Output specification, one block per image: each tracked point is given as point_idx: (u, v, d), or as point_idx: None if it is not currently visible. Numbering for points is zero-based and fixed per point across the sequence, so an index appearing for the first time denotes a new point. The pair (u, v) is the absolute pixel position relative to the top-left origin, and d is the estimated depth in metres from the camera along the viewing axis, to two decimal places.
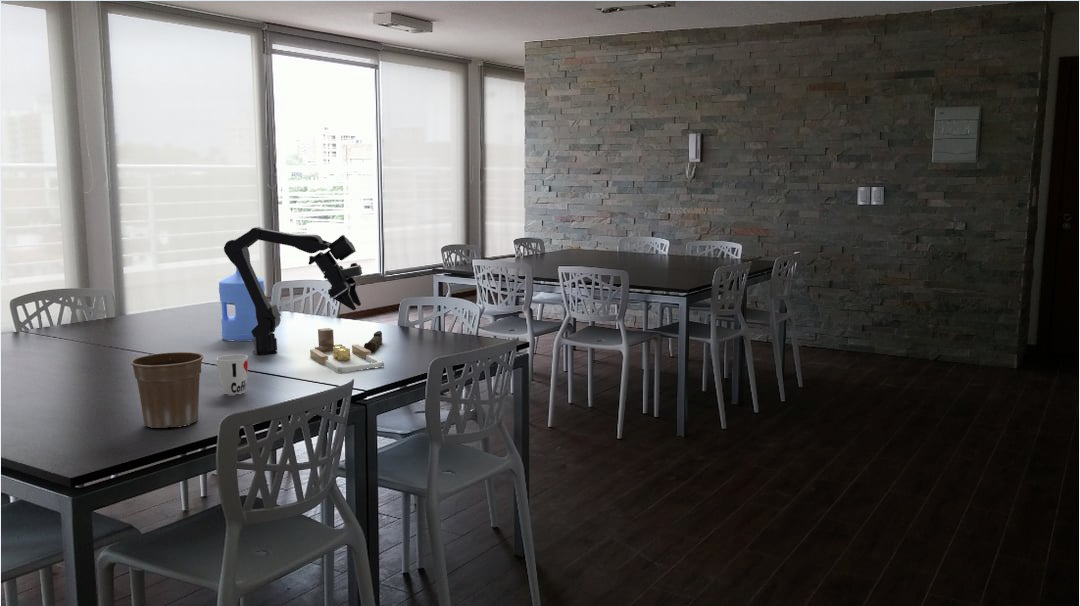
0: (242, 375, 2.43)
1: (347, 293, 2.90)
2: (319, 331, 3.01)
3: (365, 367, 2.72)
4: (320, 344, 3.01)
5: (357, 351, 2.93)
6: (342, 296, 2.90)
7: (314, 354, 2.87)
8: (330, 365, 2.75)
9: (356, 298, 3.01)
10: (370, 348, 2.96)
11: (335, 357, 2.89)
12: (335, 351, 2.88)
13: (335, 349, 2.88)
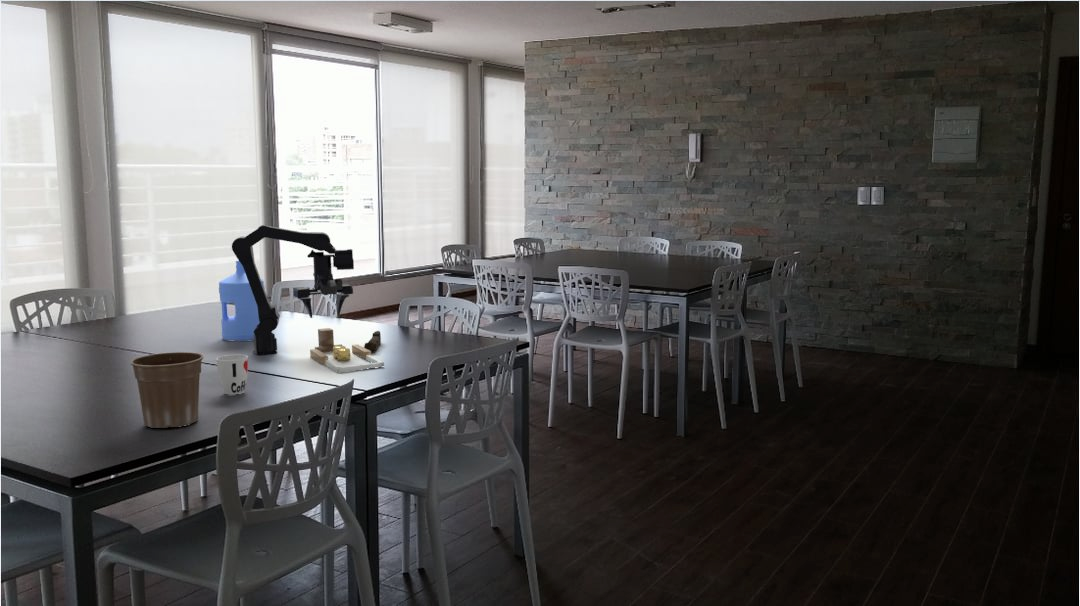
0: (242, 375, 2.43)
1: None
2: (319, 331, 3.01)
3: (365, 367, 2.72)
4: (320, 344, 3.01)
5: (357, 351, 2.93)
6: None
7: (314, 354, 2.87)
8: (330, 365, 2.75)
9: (338, 308, 3.02)
10: (370, 348, 2.96)
11: (335, 357, 2.89)
12: (335, 351, 2.88)
13: (335, 349, 2.88)
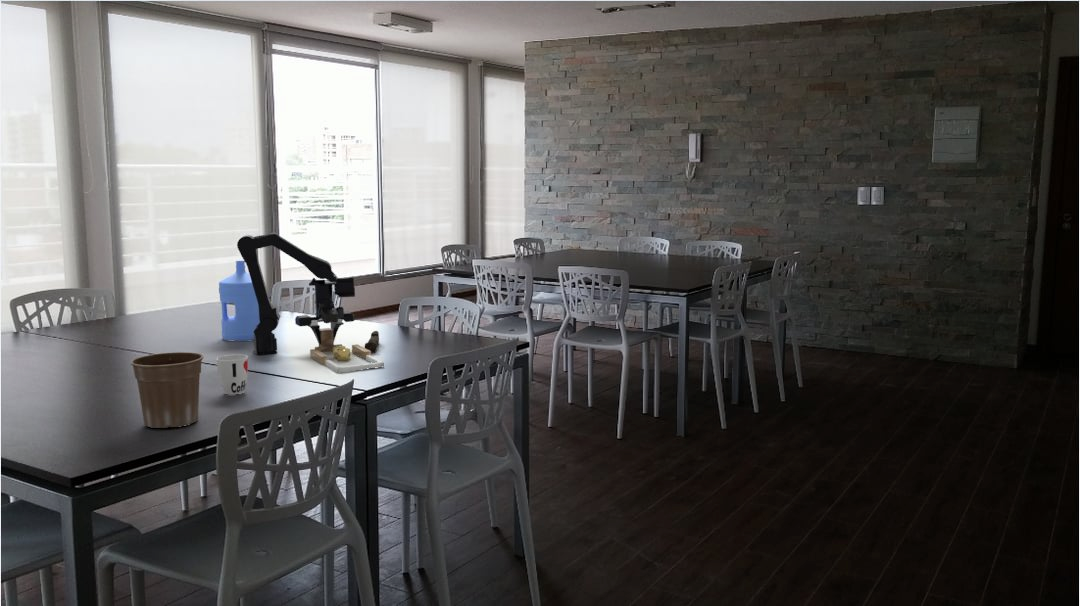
0: (242, 375, 2.43)
1: (314, 328, 2.98)
2: None
3: (365, 367, 2.72)
4: None
5: (357, 351, 2.93)
6: None
7: (314, 354, 2.87)
8: (330, 365, 2.75)
9: None
10: (371, 348, 2.96)
11: (335, 357, 2.89)
12: (335, 351, 2.88)
13: (335, 349, 2.88)
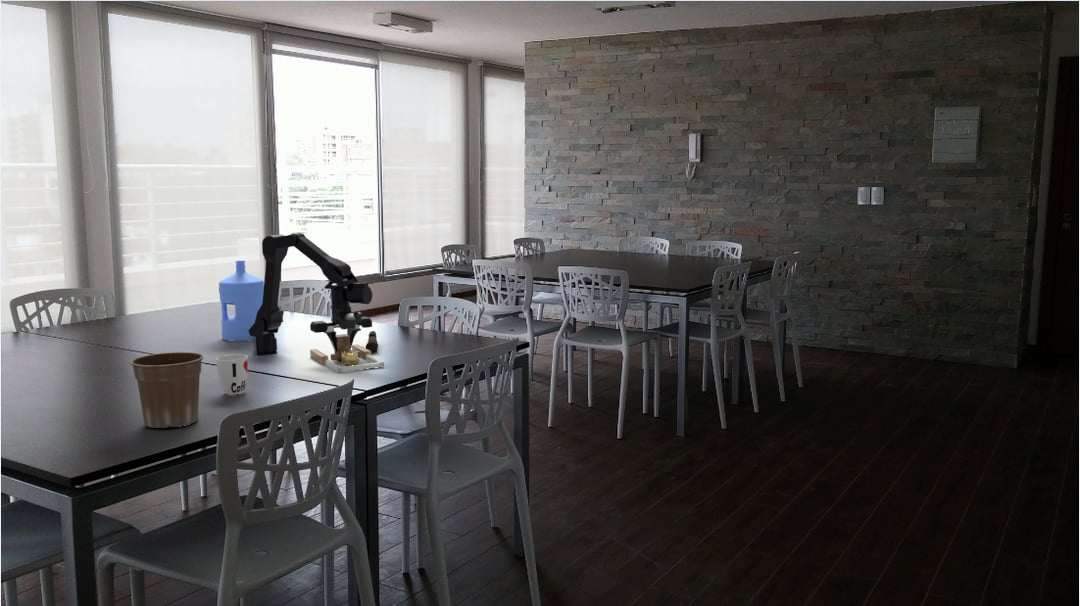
0: (242, 375, 2.43)
1: None
2: None
3: (365, 367, 2.72)
4: None
5: None
6: None
7: (314, 354, 2.87)
8: (330, 365, 2.75)
9: None
10: (372, 348, 2.96)
11: (343, 361, 2.81)
12: (343, 355, 2.81)
13: (343, 353, 2.81)
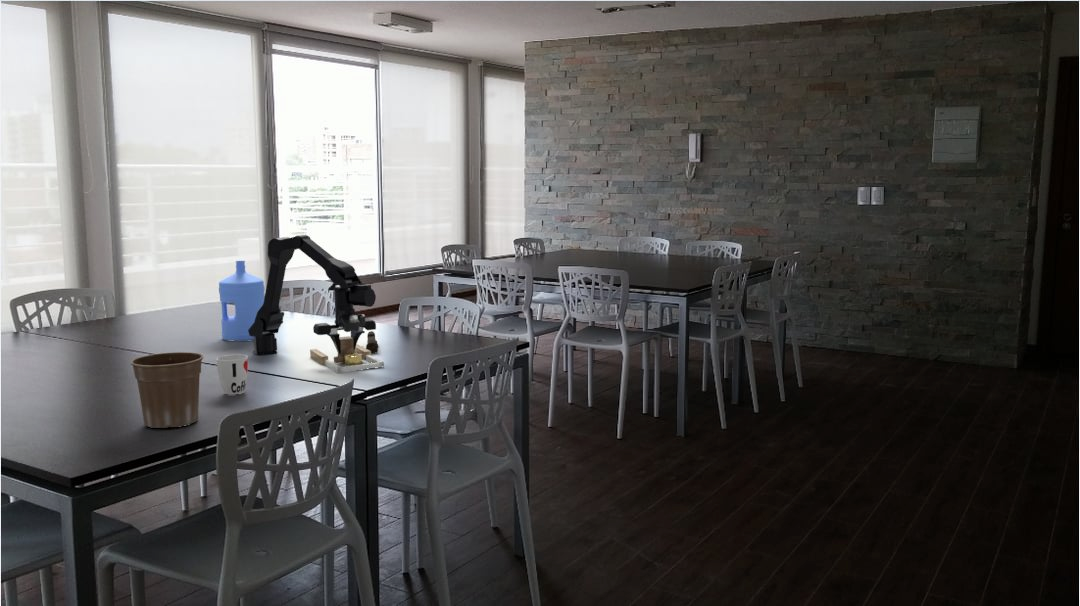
0: (242, 375, 2.43)
1: (333, 337, 2.80)
2: None
3: (365, 367, 2.72)
4: None
5: (357, 351, 2.93)
6: None
7: (314, 354, 2.87)
8: (330, 365, 2.75)
9: None
10: (372, 348, 2.96)
11: (347, 364, 2.78)
12: (347, 358, 2.78)
13: (347, 356, 2.78)
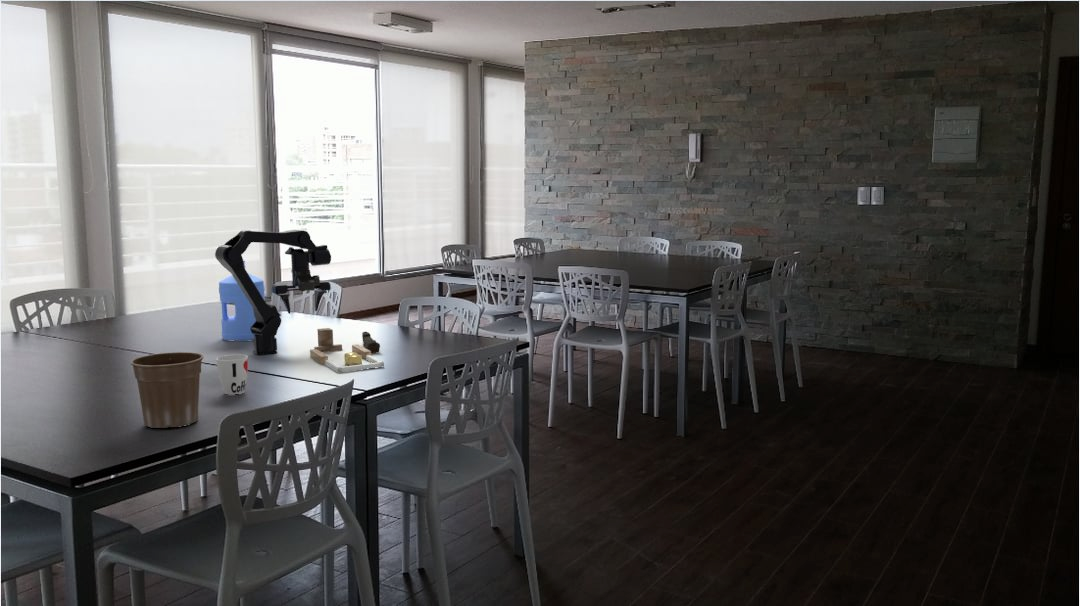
0: (242, 375, 2.43)
1: None
2: (319, 331, 3.01)
3: (365, 367, 2.72)
4: (320, 344, 3.02)
5: (357, 351, 2.93)
6: None
7: (314, 354, 2.87)
8: (330, 365, 2.75)
9: (315, 303, 3.08)
10: (374, 348, 2.96)
11: (347, 364, 2.78)
12: (347, 358, 2.78)
13: (347, 356, 2.78)
